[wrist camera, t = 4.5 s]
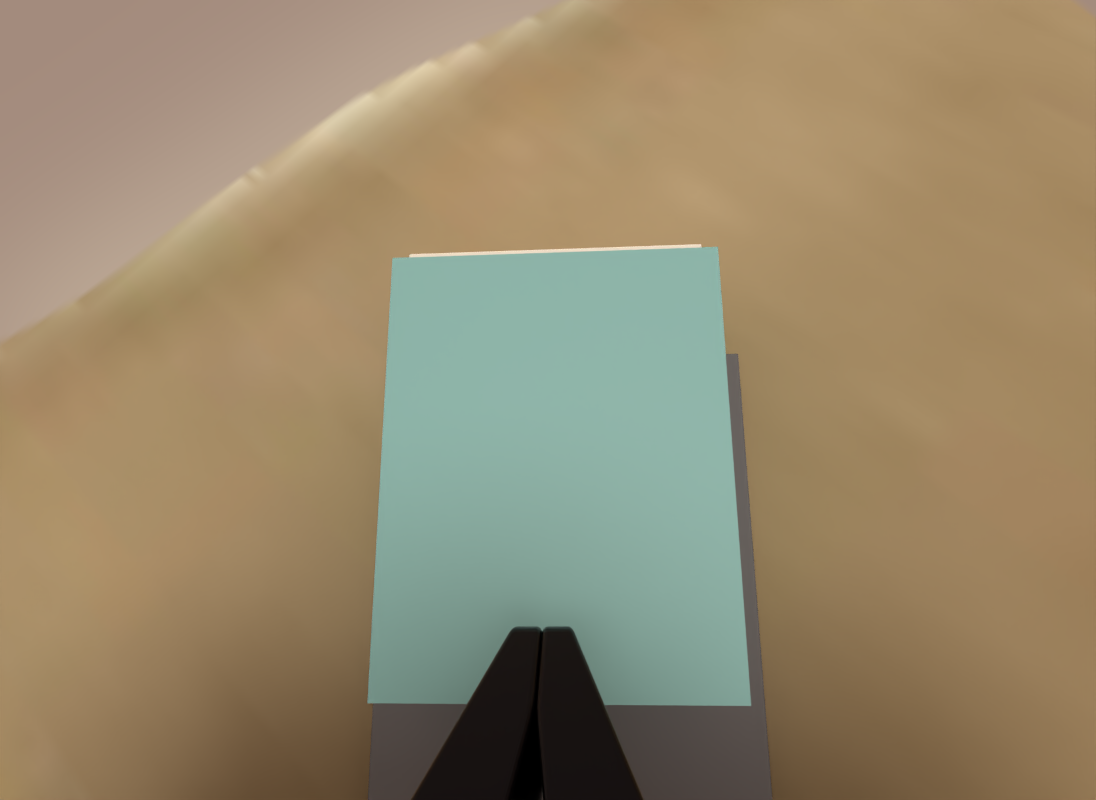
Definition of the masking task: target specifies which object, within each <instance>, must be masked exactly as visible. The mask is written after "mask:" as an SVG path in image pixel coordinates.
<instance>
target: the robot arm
mask: <svg viewBox="0 0 1096 800" xmlns="http://www.w3.org/2000/svg"><path fill="white" fill-rule="evenodd" d="M542 793H543V800H644V798H643V796H642V794H641V791H640V789H639V786H638V784H637V781H636V779H635V777H634V774H633V772H632V769H631V767H630V765H629V762H628V760H627V757H626V755H625V753H624V750H623V748H622V745H621V743H620V741H619V738H618V736H617V733H616V731H615V728H614V726H613V724H612V721H611V719H610V716H609V714H608V712H607V709H606V707H605V704H604V702H603V700H602V697H601V695H600V692H599V690H598V688H597V685H596V683H595V680H594V678H593V675H592V673H591V671H590V668H589V666H588V663H587V661H586V659H585V656H584V654H583V651H582V649H581V647H580V644H579V642H578V639H577V637H576V635H575V632H574V630H573V629H572V628H571V627H569V626H547V627H545V628H544V629H543V631H542V629H541V628H540V627H537V626H517V627H514V628H512V629H511V630H510V632H509V633H508V635H507V637H506V638H505V640H504V642H503V643H502V645H501V647H500V649H499V650H498V652H497V654H496V655H495V657H494V659H493V660H492V662H491V664H490V666H489V667H488V669H487V671H486V672H485V674H484V676H483V677H482V679H481V681H480V683H479V684H478V686H477V688H476V689H475V691H474V693H473V694H472V696H471V698H470V700H469V701H468V703H467V705H466V706H465V708H464V710H463V711H462V713H461V715H460V717H459V718H458V720H457V722H456V723H455V725H454V727H453V728H452V730H451V732H450V734H449V735H448V737H447V739H446V740H445V742H444V744H443V745H442V747H441V749H440V751H439V752H438V754H437V756H436V757H435V759H434V761H433V762H432V764H431V766H430V768H429V769H428V771H427V773H426V774H425V776H424V778H423V779H422V781H421V783H420V785H419V786H418V788H417V790H416V791H415V793H414V795H413V796H412V798H411V800H542Z"/></svg>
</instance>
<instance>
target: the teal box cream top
mask: <svg viewBox="0 0 1096 800" xmlns="http://www.w3.org/2000/svg"><path fill="white" fill-rule="evenodd" d="M517 626H537V627H540V628H541V629H542V631H543V629H544V628H545V627H547V626H569V627H571V628H572V629H573V630H574V632H575V635H576V637H577V639H578V642H579V644H580V647H581V649H582V651H583V654H584V656H585V659H586V661H587V663H588V666H589V668H590V671H591V673H592V675H593V678H594V680H595V683H596V685H597V688H598V690H599V692H600V695H601V697H602V700H603V702H604V704H605V705H688V706H751V696H750V683H749V669H748V655H747V641H746V627H745V614H744V600H743V586H742V572H741V559H740V545H739V531H738V517H737V504H736V490H735V476H734V462H733V449H732V435H731V421H730V407H729V394H728V380H727V366H726V352H725V339H724V325H723V311H722V297H721V284H720V270H719V256H718V247H701V244H695V245H666V246H637V247H608V248H579V249H550V250H521V251H491V252H462V253H433V254H410V255H409V257H407V258H393V260H392V277H391V295H390V313H389V330H388V348H387V366H386V384H385V401H384V419H383V437H382V454H381V472H380V490H379V507H378V525H377V543H376V561H375V578H374V596H373V614H372V631H371V649H370V667H369V685H368V702H367V703H403V704H467V703H468V701H469V700H470V698H471V696H472V694H473V693H474V691H475V689H476V688H477V686H478V684H479V683H480V681H481V679H482V677H483V676H484V674H485V672H486V671H487V669H488V667H489V666H490V664H491V662H492V660H493V659H494V657H495V655H496V654H497V652H498V650H499V649H500V647H501V645H502V643H503V642H504V640H505V638H506V637H507V635H508V633H509V632H510V630H511V629H512V628H514V627H517Z"/></svg>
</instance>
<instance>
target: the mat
mask: <svg viewBox="0 0 1096 800" xmlns="http://www.w3.org/2000/svg"><path fill="white" fill-rule="evenodd" d="M726 366H727V380H728V394H729V407H730V421H731V435H732V449H733V462H734V476H735V490H736V504H737V517H738V531H739V545H740V559H741V572H742V586H743V600H744V614H745V627H746V641H747V655H748V669H749V683H750V696H751V706H688V705H605V707H606V709H607V712H608V714H609V716H610V719H611V721H612V724H613V726H614V728H615V731H616V733H617V736H618V738H619V741H620V743H621V745H622V748H623V750H624V753H625V755H626V757H627V760H628V762H629V765H630V767H631V769H632V772H633V774H634V777H635V779H636V781H637V784H638V786H639V789H640V791H641V794H642V796H643V798H644V800H772V789H771V776H770V763H769V750H768V737H767V724H766V711H765V698H764V685H763V673H762V660H761V647H760V634H759V621H758V608H757V595H756V582H755V569H754V556H753V543H752V530H751V517H750V504H749V492H748V479H747V466H746V453H745V440H744V427H743V414H742V401H741V388H740V375H739V362H738V354H726ZM466 705H467V704H403V703H373V716H372V734H371V752H370V771H369V789H368V800H411V798H412V796H413V795H414V793H415V791H416V790H417V788H418V786H419V785H420V783H421V781H422V779H423V778H424V776H425V774H426V773H427V771H428V769H429V768H430V766H431V764H432V762H433V761H434V759H435V757H436V756H437V754H438V752H439V751H440V749H441V747H442V745H443V744H444V742H445V740H446V739H447V737H448V735H449V734H450V732H451V730H452V728H453V727H454V725H455V723H456V722H457V720H458V718H459V717H460V715H461V713H462V711H463V710H464V708H465V706H466ZM542 800H543V793H542Z"/></svg>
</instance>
